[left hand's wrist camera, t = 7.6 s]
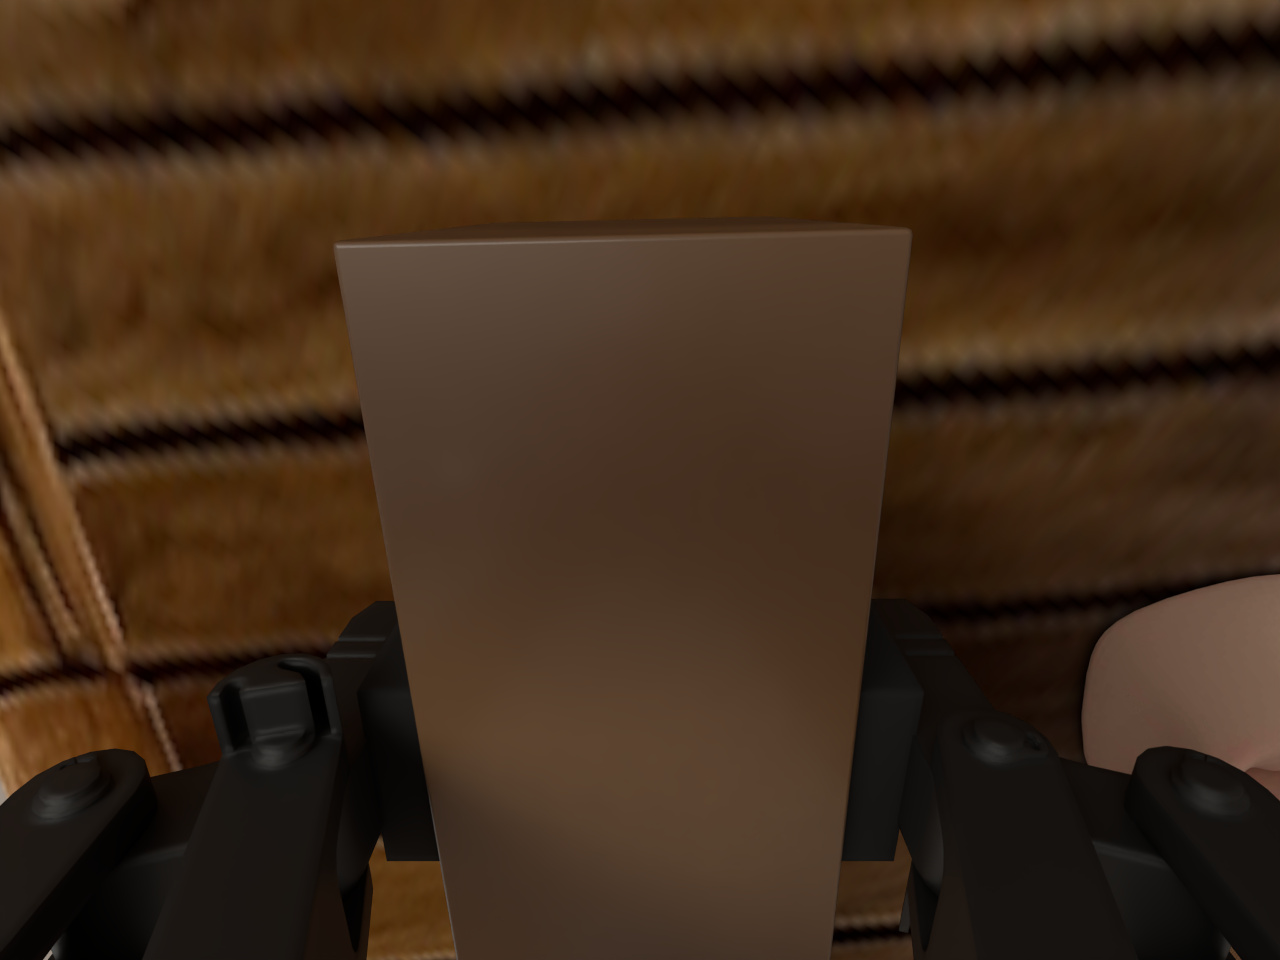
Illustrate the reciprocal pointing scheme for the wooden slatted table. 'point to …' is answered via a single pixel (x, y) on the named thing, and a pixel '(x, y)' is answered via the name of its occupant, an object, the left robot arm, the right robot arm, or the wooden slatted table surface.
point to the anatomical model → (1191, 680)
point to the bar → (632, 564)
